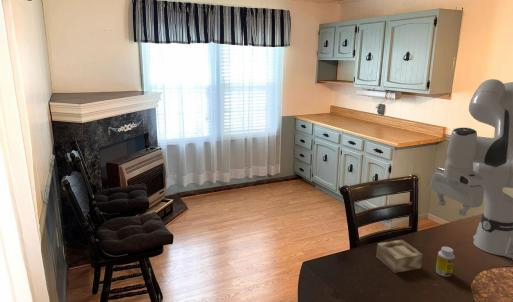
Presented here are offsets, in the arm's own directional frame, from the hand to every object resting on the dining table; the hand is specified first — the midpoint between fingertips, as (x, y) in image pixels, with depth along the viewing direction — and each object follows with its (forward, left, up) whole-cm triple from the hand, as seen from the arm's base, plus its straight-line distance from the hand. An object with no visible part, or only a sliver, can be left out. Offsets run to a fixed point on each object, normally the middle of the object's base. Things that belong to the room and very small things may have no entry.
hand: (451, 209), depth 129 cm
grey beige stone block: (+12, -10, -26) cm, 30 cm away
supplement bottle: (0, +1, -26) cm, 26 cm away
